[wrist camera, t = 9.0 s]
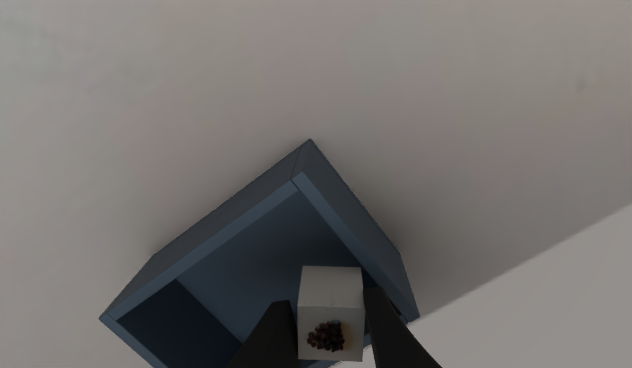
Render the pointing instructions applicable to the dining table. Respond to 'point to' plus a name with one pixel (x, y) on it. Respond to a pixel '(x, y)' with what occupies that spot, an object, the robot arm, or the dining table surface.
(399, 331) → the robot arm
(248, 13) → the dining table surface
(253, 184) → the bin
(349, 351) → the cube with brown bumps
